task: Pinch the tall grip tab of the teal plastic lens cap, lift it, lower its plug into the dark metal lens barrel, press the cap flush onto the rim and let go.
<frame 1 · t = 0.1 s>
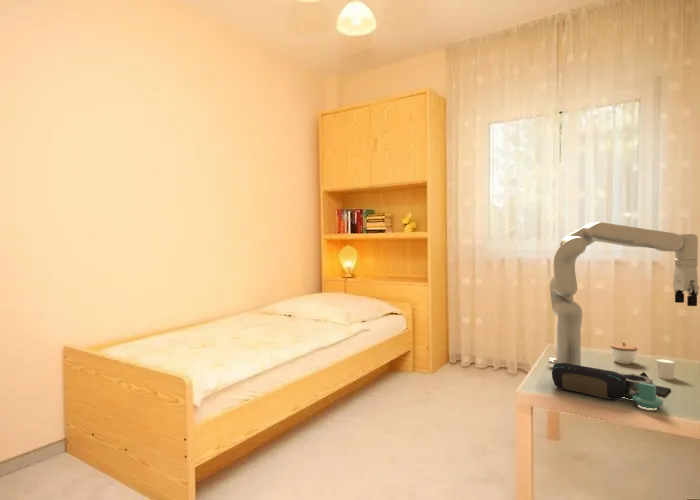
hand: (685, 304, 181), 31 cm above the table, tool pointing down, fingers open, 9 cm apart
shot glass: (665, 377, 183), on the table
lens barrel: (633, 396, 160), on the table
handheld gaming console: (653, 391, 166), on the table
lens cap: (647, 407, 150), on the table
portable speaker: (587, 393, 164), on the table, touching lens barrel
lidded jar: (623, 362, 205), on the table
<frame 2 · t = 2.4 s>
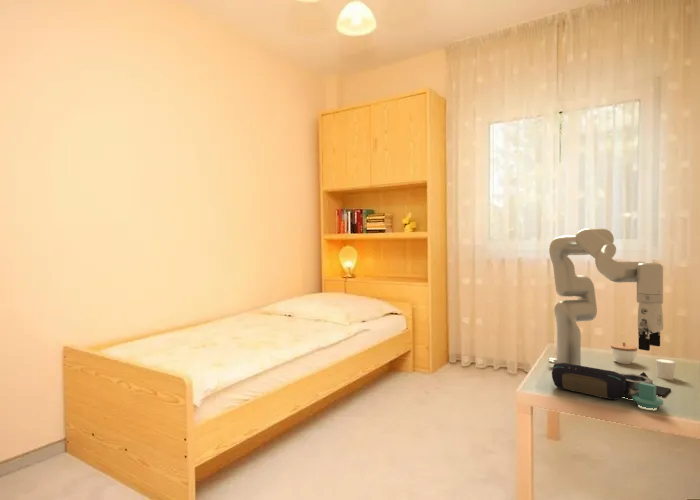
hand: (649, 347, 150), 21 cm above the table, tool pointing down, fingers open, 9 cm apart
nothing on the table moved.
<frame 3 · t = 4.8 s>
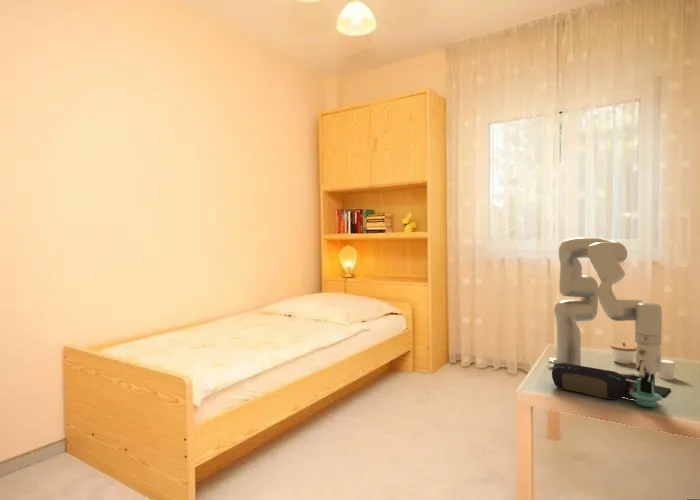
hand: (647, 391, 150), 6 cm above the table, tool pointing down, fingers closed on lens cap
lens cap: (646, 403, 150), point 1 cm above the table, touching gripper
everything else where it was.
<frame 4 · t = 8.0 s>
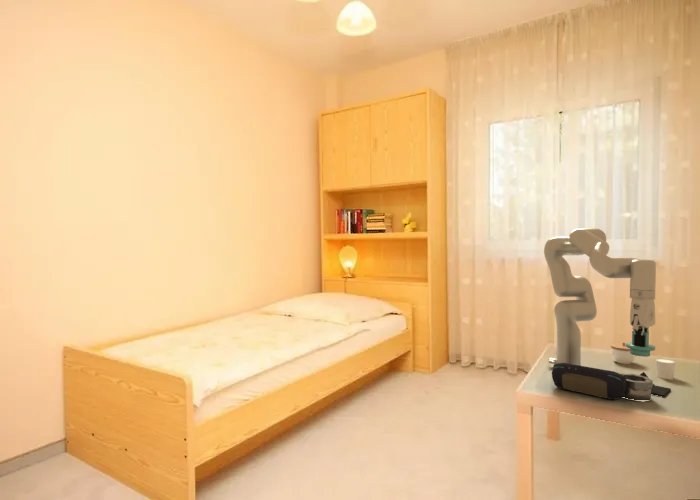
hand: (641, 345, 154), 21 cm above the table, tool pointing down, fingers closed on lens cap
lens cap: (640, 354, 154), point 17 cm above the table, touching gripper
everything else where it was.
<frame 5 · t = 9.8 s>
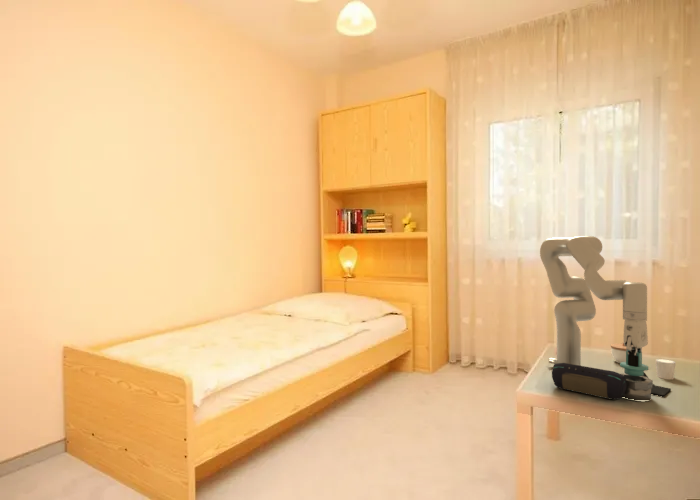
hand: (634, 364, 160), 12 cm above the table, tool pointing down, fingers closed on lens cap
lens cap: (633, 373, 160), point 9 cm above the table, touching gripper
everything else where it was.
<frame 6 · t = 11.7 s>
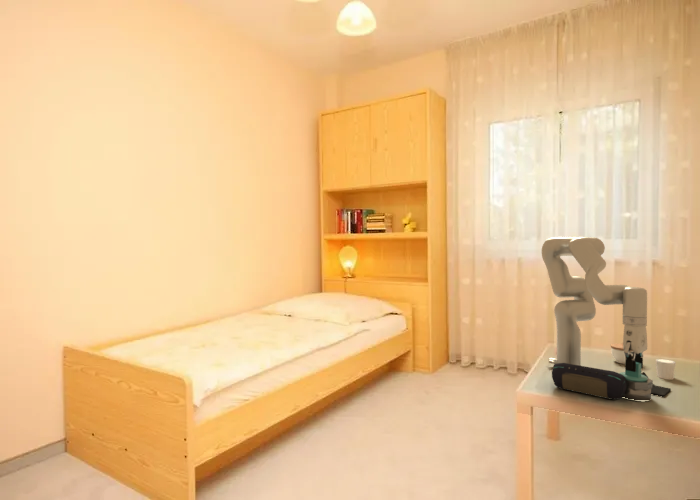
hand: (634, 368, 160), 10 cm above the table, tool pointing down, fingers open, 5 cm apart
lens cap: (633, 384, 160), point 5 cm above the table, touching lens barrel
everything else where it was.
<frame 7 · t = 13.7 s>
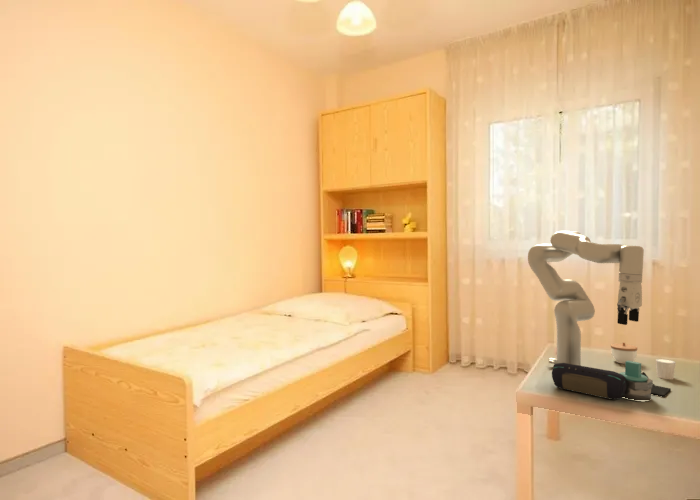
hand: (627, 322, 165), 27 cm above the table, tool pointing down, fingers open, 9 cm apart
nothing on the table moved.
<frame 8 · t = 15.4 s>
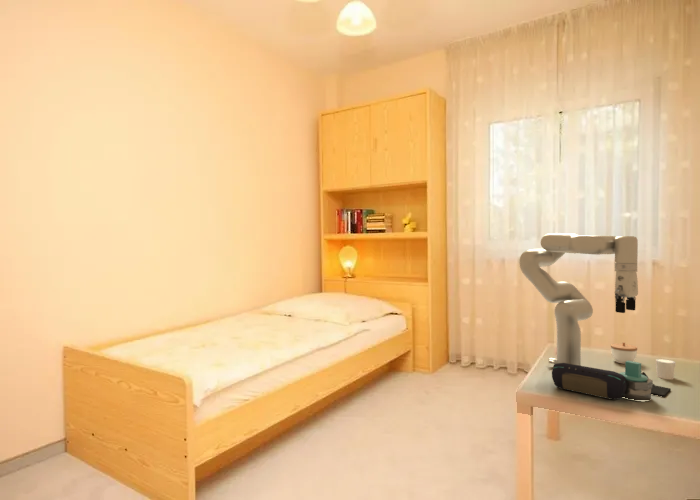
hand: (625, 311, 169), 30 cm above the table, tool pointing down, fingers open, 9 cm apart
nothing on the table moved.
at the end: lens cap 0.3 cm off-centre on the lens barrel, point 4.6 cm above the lens barrel's base; lens cap tilted 0°; the gripper is holding nothing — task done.
